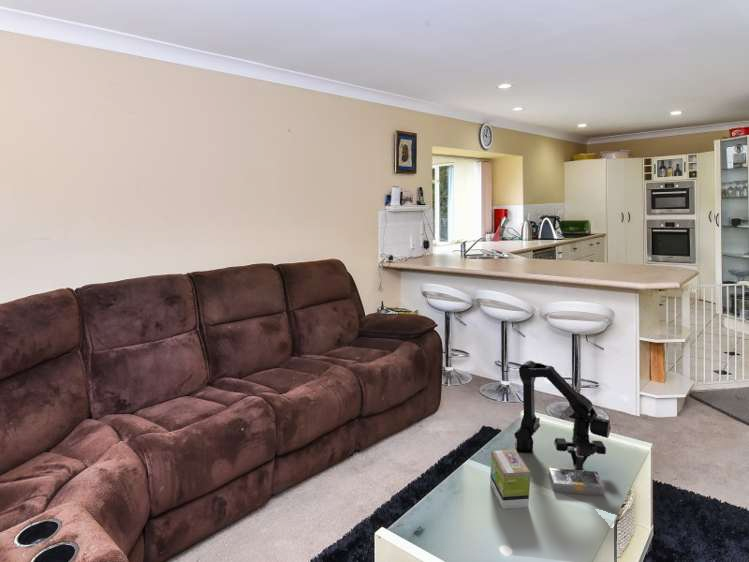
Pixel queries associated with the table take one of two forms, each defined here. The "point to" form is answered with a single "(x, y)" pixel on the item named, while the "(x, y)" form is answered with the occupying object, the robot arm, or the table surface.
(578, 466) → the panel
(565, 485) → the rack
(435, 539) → the table surface
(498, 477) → the tea box
